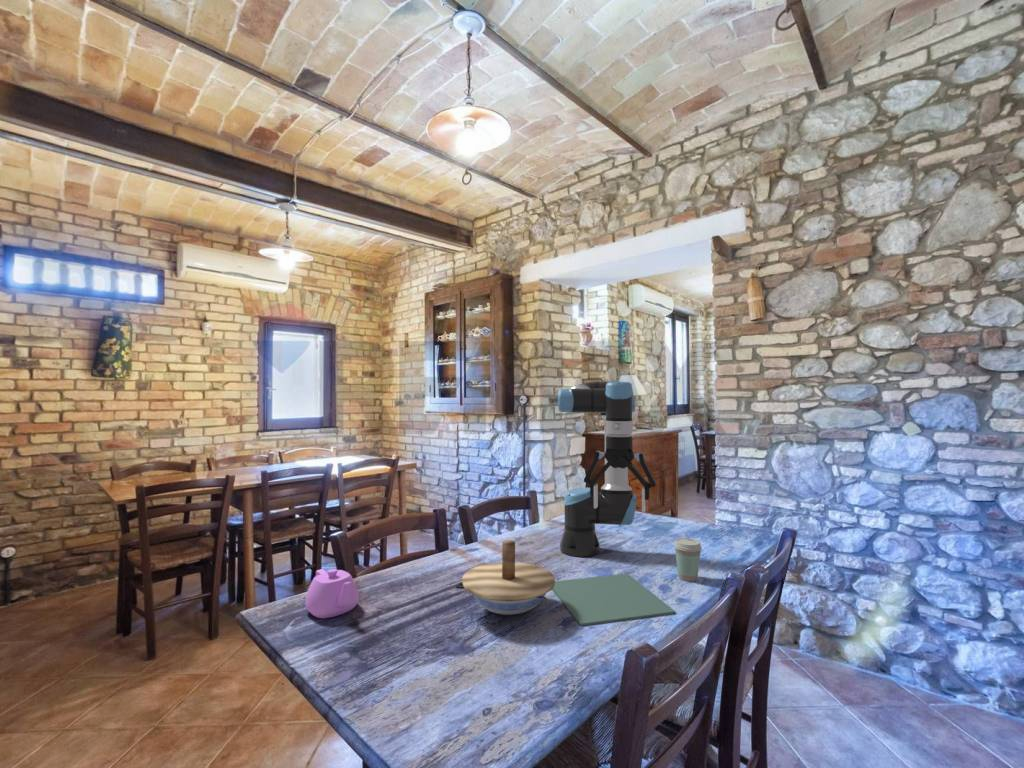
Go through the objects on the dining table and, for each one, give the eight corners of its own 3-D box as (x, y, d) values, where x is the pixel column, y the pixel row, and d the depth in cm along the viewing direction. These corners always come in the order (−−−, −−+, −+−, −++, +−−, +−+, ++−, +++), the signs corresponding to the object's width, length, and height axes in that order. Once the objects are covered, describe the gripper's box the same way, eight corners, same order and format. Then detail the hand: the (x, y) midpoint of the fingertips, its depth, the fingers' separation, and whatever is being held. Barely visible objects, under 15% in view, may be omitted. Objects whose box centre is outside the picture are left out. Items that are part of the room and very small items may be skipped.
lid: (456, 569, 147) (456, 532, 147) (538, 562, 153) (538, 527, 154) (470, 604, 122) (470, 560, 122) (568, 595, 128) (568, 552, 128)
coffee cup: (704, 584, 154) (703, 546, 155) (675, 582, 156) (675, 544, 156) (699, 574, 163) (699, 538, 163) (672, 572, 165) (672, 536, 165)
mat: (547, 583, 155) (547, 582, 155) (627, 575, 162) (627, 573, 162) (580, 625, 128) (580, 623, 128) (675, 613, 135) (675, 611, 135)
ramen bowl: (561, 598, 144) (561, 571, 144) (540, 636, 123) (540, 604, 123) (483, 587, 152) (483, 561, 152) (450, 621, 131) (450, 590, 131)
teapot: (326, 631, 126) (326, 588, 126) (295, 606, 140) (294, 567, 140) (373, 613, 135) (372, 573, 135) (339, 592, 149) (339, 556, 149)
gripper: (573, 435, 141) (573, 508, 141) (663, 438, 133) (664, 516, 133) (578, 432, 148) (579, 502, 148) (664, 435, 140) (665, 509, 140)
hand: (619, 509), depth 140 cm, fingers open, 13 cm apart
